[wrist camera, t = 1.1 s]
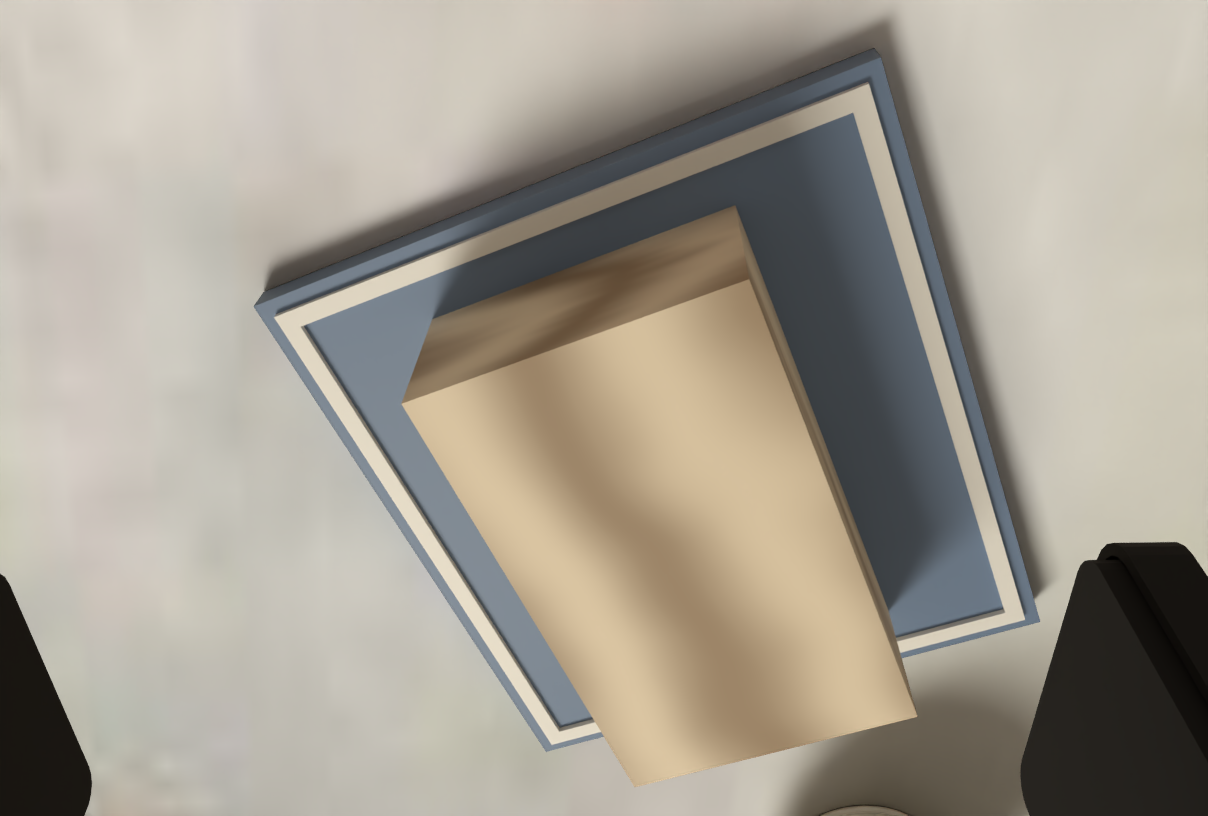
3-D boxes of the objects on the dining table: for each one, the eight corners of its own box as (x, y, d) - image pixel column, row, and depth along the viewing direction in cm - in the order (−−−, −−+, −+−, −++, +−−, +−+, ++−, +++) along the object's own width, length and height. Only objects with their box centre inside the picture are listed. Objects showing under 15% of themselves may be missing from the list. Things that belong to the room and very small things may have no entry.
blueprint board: (873, 48, 30) (920, 112, 25) (1031, 603, 40) (1087, 728, 35) (263, 292, 34) (196, 389, 29) (547, 732, 45) (535, 859, 40)
